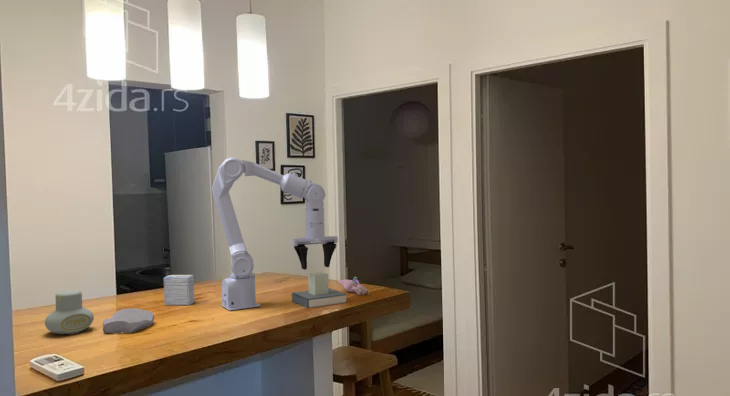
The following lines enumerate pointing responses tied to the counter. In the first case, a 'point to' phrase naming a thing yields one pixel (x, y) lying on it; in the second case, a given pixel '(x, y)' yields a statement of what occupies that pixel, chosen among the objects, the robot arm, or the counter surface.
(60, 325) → the air freshener
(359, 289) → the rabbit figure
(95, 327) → the counter surface
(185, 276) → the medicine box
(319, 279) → the sage block
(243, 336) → the counter surface
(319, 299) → the book
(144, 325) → the stone block
